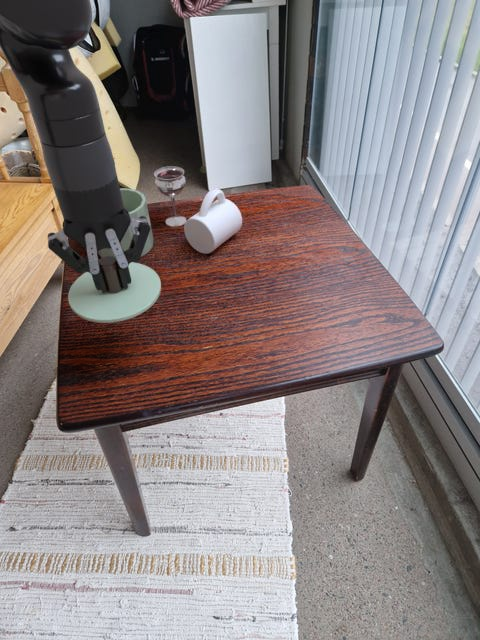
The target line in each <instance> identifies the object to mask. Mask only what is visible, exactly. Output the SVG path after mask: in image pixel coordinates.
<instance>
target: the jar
mask: <svg viewBox="0 0 480 640" xmlns="http://www.w3.org/2000/svg"><path fill="white" fill-rule="evenodd" d="M120 191H121V195H122V200H123V205H124V208H125V209H126V210H127V211H128V213H129V215H130V216H132V217H136V218H139V217H141V216H145V217H146V218H147V220H148V223H149V225H150V232H149V235H148V238H147V240H146V243H145V246H144V249H143V252H142V254H141V257H140V258H142V257H143V256H145V255H147V254H148V253H149V252H150V251H151V250H152V249H153V246H154V235H153V230H152V224H151V219H150V214H149V209H148V202H147V199H146V197H145V194H144V193H143V192H141V191H139V190H137V189H132V188H127V187H126V188H125V187H124V188H123V187H122V188H121V187H120ZM133 234H134V233H133V232H132V229H131V226H129V227H128V229H127V231H126V233H125V235H124V237H123V239H122V241H121V245H122V247H123V250H124V251H126V250H128V249H129V246H130V243H131V240H132V237H133ZM97 255H99V257H101V258H103V257H106V256H113V257H115V255H114V252H113V250H112V248H111V249H102V250H100V251H97ZM115 258H116V257H115ZM116 260H117V259H116Z"/></svg>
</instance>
